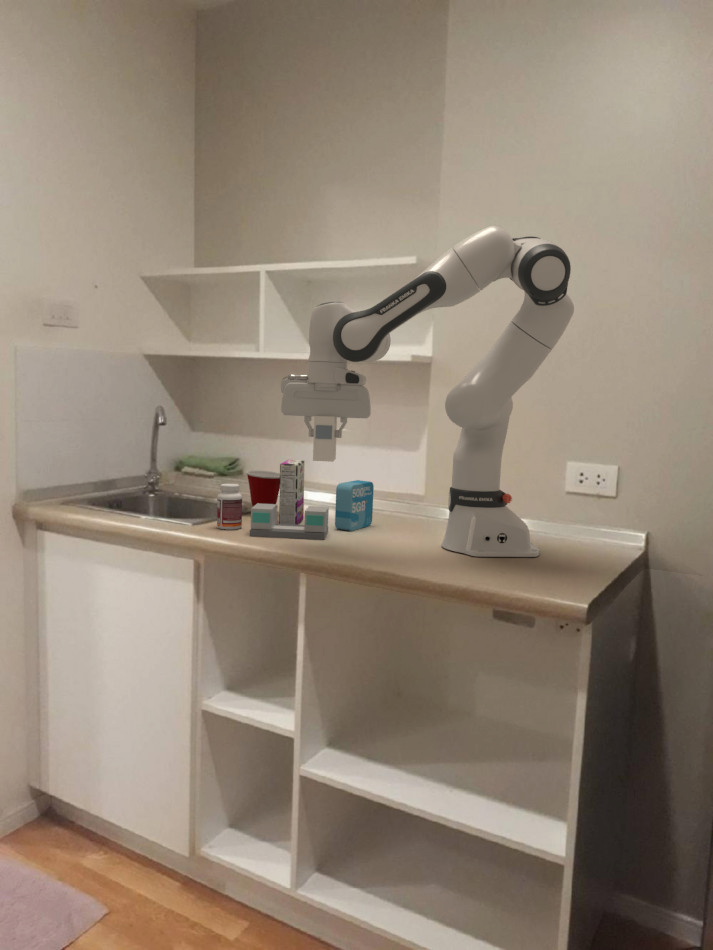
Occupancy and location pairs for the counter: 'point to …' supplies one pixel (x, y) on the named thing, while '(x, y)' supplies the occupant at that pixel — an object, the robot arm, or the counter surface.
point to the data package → (354, 505)
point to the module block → (324, 438)
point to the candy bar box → (291, 492)
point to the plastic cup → (263, 486)
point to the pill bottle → (229, 507)
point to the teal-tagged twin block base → (268, 527)
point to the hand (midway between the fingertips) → (325, 437)
